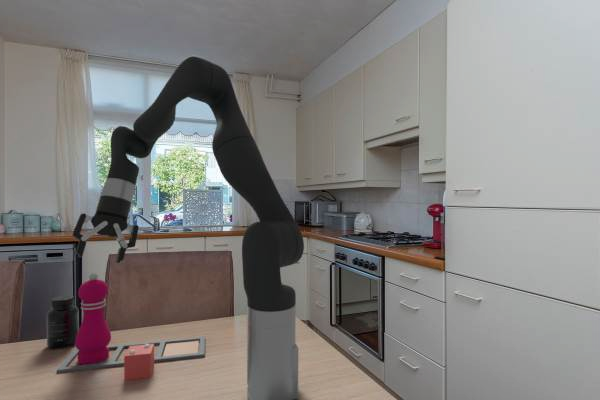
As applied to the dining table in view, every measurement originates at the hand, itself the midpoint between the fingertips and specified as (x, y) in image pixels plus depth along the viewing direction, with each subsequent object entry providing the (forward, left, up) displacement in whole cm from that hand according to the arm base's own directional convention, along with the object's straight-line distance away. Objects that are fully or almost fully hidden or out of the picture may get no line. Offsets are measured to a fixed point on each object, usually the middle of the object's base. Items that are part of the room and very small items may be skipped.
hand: (99, 259), depth 87 cm
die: (-12, +16, -22) cm, 30 cm away
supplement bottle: (+10, -5, -22) cm, 25 cm away
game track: (-10, +6, -22) cm, 25 cm away
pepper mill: (-1, +6, -22) cm, 23 cm away
